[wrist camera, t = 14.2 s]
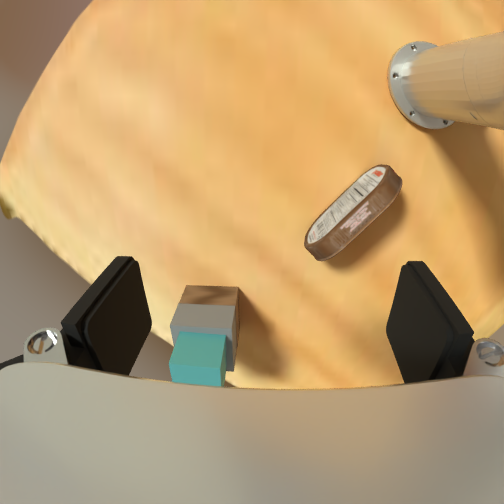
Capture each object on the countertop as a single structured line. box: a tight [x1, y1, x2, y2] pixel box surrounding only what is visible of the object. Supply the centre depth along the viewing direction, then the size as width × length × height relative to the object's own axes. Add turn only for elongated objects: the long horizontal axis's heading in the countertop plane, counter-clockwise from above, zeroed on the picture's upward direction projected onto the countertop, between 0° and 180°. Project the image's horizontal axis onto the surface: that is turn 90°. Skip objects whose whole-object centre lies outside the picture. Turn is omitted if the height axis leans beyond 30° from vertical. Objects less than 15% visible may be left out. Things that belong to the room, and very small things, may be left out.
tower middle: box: [170, 303, 237, 371], centre depth 42 cm, size 8×8×5 cm
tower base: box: [179, 285, 239, 347], centre depth 47 cm, size 8×8×5 cm
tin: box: [304, 164, 402, 261], centre depth 37 cm, size 15×3×8 cm, turn 138°
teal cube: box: [169, 331, 227, 387], centre depth 37 cm, size 6×6×6 cm
